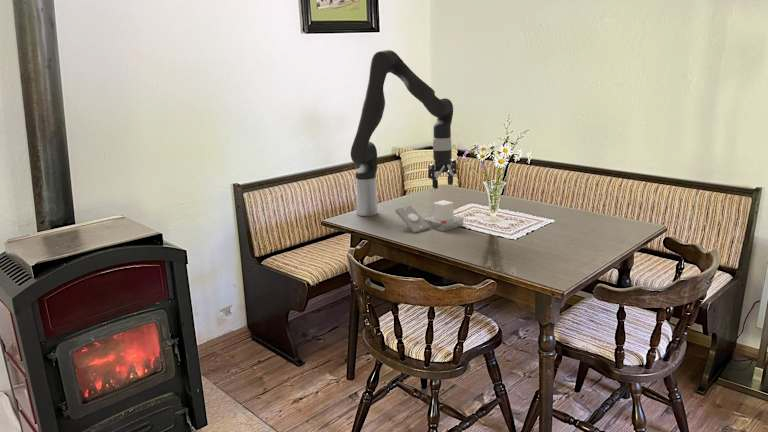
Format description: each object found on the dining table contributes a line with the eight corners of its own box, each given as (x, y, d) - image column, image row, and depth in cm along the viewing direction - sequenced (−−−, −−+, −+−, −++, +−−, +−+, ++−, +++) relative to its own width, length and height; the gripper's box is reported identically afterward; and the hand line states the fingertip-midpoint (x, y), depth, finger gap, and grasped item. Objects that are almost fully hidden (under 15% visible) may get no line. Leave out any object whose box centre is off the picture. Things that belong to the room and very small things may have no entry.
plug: (433, 222, 250) (433, 202, 247) (443, 219, 253) (443, 200, 251) (443, 224, 245) (443, 205, 243) (453, 221, 249) (453, 202, 246)
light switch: (415, 229, 240) (395, 207, 248) (411, 240, 244) (392, 218, 252) (431, 225, 245) (411, 203, 253) (427, 235, 249) (407, 213, 256)
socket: (423, 225, 251) (423, 217, 250) (443, 219, 258) (443, 211, 257) (443, 231, 242) (443, 223, 241) (463, 225, 249) (463, 217, 248)
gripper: (448, 144, 247) (448, 182, 252) (423, 149, 239) (424, 188, 244) (461, 146, 242) (461, 184, 246) (436, 151, 233) (436, 191, 238)
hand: (442, 186), depth 245 cm, fingers open, 8 cm apart
